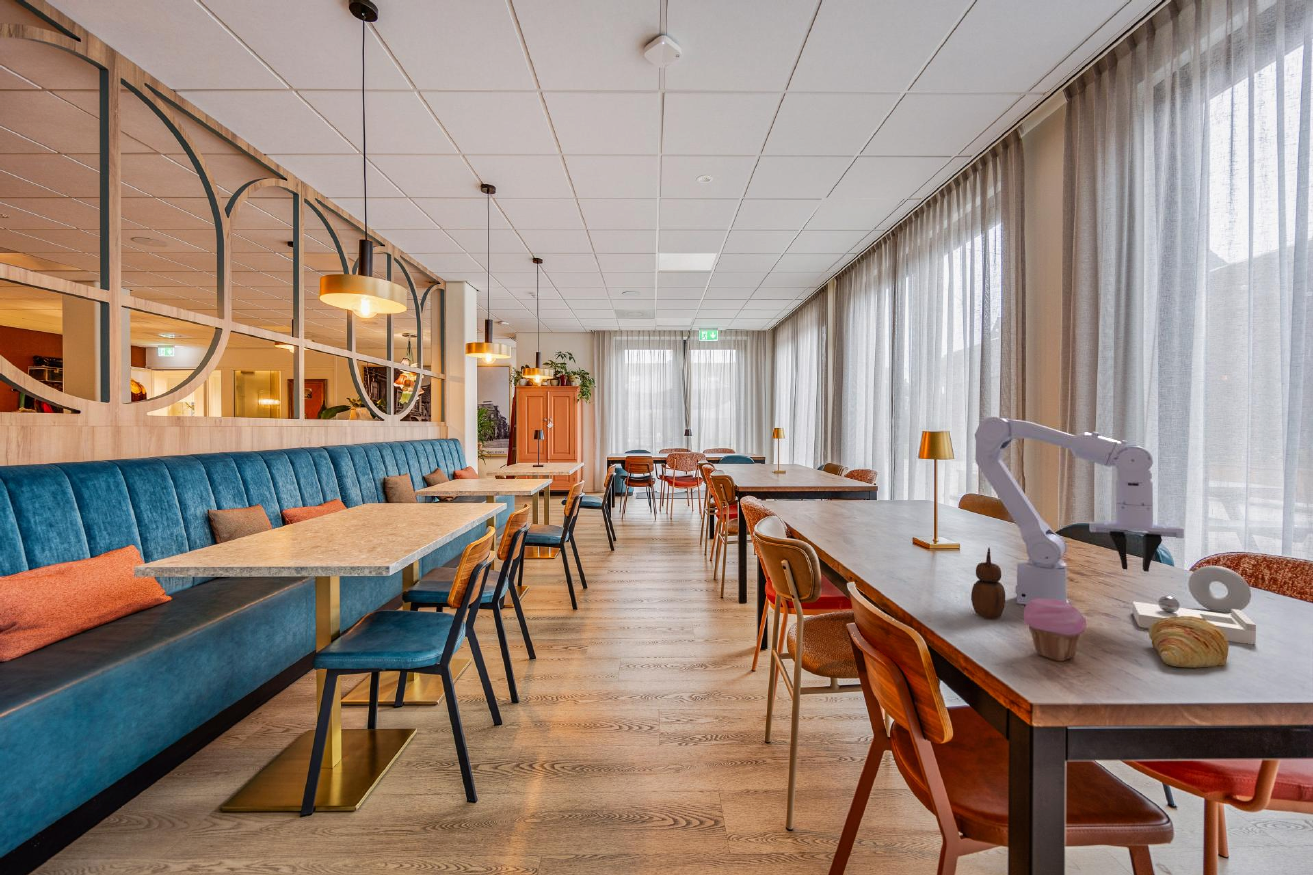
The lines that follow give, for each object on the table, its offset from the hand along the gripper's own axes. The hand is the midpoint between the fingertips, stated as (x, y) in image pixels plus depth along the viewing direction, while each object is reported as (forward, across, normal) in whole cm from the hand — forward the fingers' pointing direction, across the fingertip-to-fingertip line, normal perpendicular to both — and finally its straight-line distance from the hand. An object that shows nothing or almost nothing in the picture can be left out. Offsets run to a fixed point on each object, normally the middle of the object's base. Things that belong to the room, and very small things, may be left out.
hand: (1135, 569), depth 113 cm
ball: (+6, +5, 0) cm, 8 cm away
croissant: (+11, +5, -18) cm, 21 cm away
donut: (+11, +15, +16) cm, 25 cm away
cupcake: (+10, -14, -32) cm, 36 cm away
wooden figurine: (+10, -25, -15) cm, 31 cm away
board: (+10, +8, 0) cm, 13 cm away
